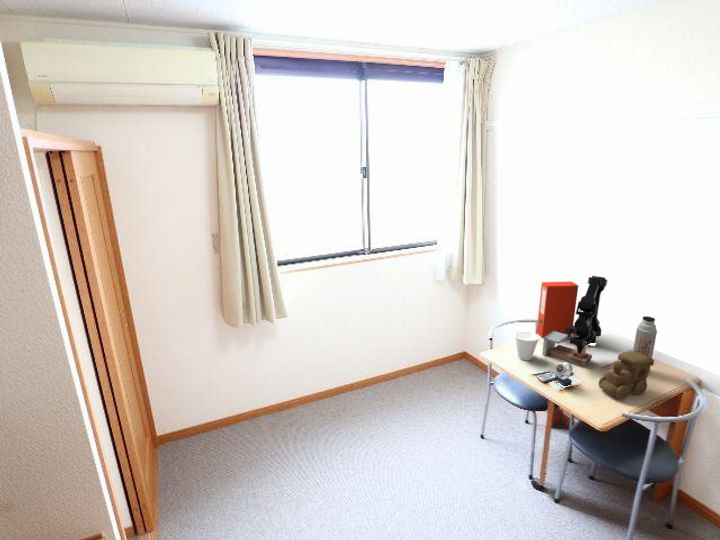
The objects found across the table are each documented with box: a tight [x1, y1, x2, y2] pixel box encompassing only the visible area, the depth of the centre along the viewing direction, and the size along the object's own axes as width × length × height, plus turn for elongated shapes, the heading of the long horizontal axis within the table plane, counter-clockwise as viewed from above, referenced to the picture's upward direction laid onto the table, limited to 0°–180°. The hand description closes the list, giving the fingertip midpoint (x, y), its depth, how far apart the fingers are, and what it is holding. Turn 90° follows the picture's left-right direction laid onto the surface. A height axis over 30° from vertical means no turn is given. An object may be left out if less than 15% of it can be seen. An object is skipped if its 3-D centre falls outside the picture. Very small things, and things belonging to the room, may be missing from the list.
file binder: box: [536, 280, 579, 339], centre depth 241 cm, size 8×17×32 cm, turn 90°
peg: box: [576, 341, 587, 358], centre depth 212 cm, size 4×4×8 cm
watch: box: [554, 361, 574, 386], centre depth 192 cm, size 6×8×11 cm
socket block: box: [549, 344, 593, 369], centre depth 216 cm, size 10×17×4 cm, turn 42°
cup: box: [514, 330, 540, 361], centre depth 218 cm, size 12×12×12 cm
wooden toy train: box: [598, 350, 655, 401], centre depth 185 cm, size 20×11×17 cm, turn 109°
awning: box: [541, 331, 569, 357], centre depth 222 cm, size 12×8×10 cm, turn 132°
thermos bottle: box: [632, 315, 658, 375], centre depth 200 cm, size 8×8×28 cm
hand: (580, 352), depth 212 cm, fingers closed on peg, 4 cm apart
